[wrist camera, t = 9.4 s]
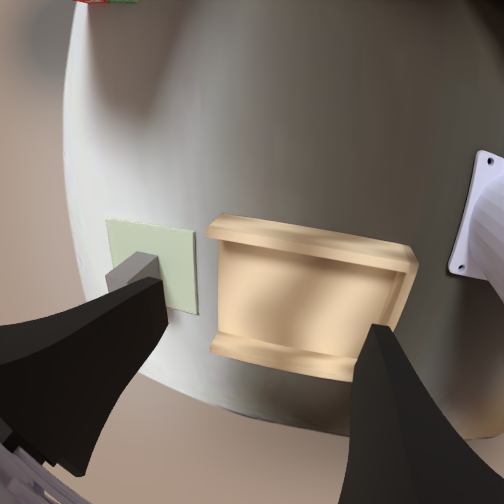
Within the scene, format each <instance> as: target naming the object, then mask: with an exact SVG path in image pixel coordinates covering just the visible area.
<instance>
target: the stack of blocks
mask: <svg viewBox="0 0 504 504" xmlns="http://www.w3.org/2000/svg"><path fill="white" fill-rule="evenodd" d="M74 1H79V2H83V3H109V2H135V3H137V2H138V1H139V0H74Z"/></svg>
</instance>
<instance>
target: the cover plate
mask: <svg viewBox="0 0 504 504" xmlns="http://www.w3.org/2000/svg"><path fill="white" fill-rule="evenodd" d="M106 226H107V233H108V240H109V246H110V252H111V258H112V264H113V270H111V271H110V272H109V273H108V274H106V275H105V278H106V283H107V287H108V291H109V293H110V292H112V291H115V290H117V289H119V288H121V287H124V286H126V285H128V284H130V283H133V282H135V281H138V280H140V279H143V278H146V277H153V278H157V279H161V280H163V287H164V294H165V302H166V306H167V307H170V308H174V309H177V310H181V311H185V312H188V313H192V314H197V313H198V301H197V282H196V258H195V231H191V230H185V229H178V228H172V227H166V226H160V225H154V224H147V223H141V222H135V221H128V220H122V219H115V218H109V217H108V218H106Z"/></svg>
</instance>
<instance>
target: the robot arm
mask: <svg viewBox="0 0 504 504" xmlns="http://www.w3.org/2000/svg"><path fill="white" fill-rule="evenodd" d="M488 158H490V159H491V163H490V164H489V165H488V162H487V160H488ZM460 265H463V266H462V268H461V269H458V268H459V266H460ZM448 269H449V271H450V272H451V273H453V274H458V275H463V276H468V277H473V278H478V279H483V280H488V281H489V282H490V284H491V285H492V286H493V288H494V289H495V291H496V292H497V294H498V295H499V297H500V298H501V299H502V301H503V302H504V159H503V158H501V157H499V156H496V155H494V154H491V153H489V152H486V151H483V150H480V151H478V152H477V154H476V158H475V164H474V169H473V174H472V179H471V184H470V189H469V193H468V198H467V202H466V206H465V210H464V213H463V217H462V221H461V224H460V228H459V231H458V235H457V238H456V241H455V244H454V247H453V250H452V253H451V256H450V259H449V262H448ZM168 324H169V323H168V316H167V309H166V302H165V294H164V287H163V280H161V279H157V278H153V277H146V278H143V279H140V280H138V281H135V282H133V283H130V284H128V285H126V286H124V287H121V288H119V289H117V290H115V291H112V292H110V293H108V294H106V295H103V296H101V297H99V298H97V299H94V300H92V301H89V302H87V303H84V304H82V305H79V306H77V307H74V308H72V309H69V310H66V311H64V312H60V313H57V314H54V315H51V316H48V317H44V318H40V319H36V320H31V321H27V322H22V323H17V324H10V325H2V326H0V504H58V503H57V502H55V501H54V500H52V499H51V498H49V497H47V496H46V495H45V494H44V490H45V491H46V492H48V493H49V494H50V495H51V496H52V497H54V498H55V499H56V500H57V501H58V502H60V503H61V504H92V503H90V502H89V501H88V500H86V499H85V498H83V497H82V496H80V495H79V494H77V493H76V492H74V491H73V490H72V489H70V488H69V487H68V486H66V485H65V484H64V483H62V482H61V481H60V480H59V479H57V478H56V477H55V476H53V475H52V474H51V473H50V472H49V471H48V470H46V469H45V468H44V467H43V466H42V465H43V463H44V462H45V461H46V462H48V463H49V464H50V465H51V466H52V467H54V466H55V465H56V464H57V463H58V464H59V465H60V466H62V467H63V468H64V469H66V470H67V471H69V472H70V473H71V474H72V475H74V476H75V477H82V476H85V473H86V469H87V466H88V463H89V461H90V458H91V455H92V452H93V449H94V447H95V445H96V442H97V440H98V437H99V435H100V433H101V431H102V429H103V427H104V425H105V423H106V421H107V419H108V417H109V415H110V413H111V410H112V409H113V407H114V406H115V404H116V402H117V400H118V398H119V396H120V395H121V393H122V392H123V390H124V389H125V388H126V386H127V385H128V383H129V382H130V381H131V379H132V378H133V377H134V375H135V374H136V373H137V371H138V370H139V369H140V367H141V366H142V365H143V363H144V362H145V361H146V359H147V358H148V357H149V355H150V354H151V353H152V351H153V350H154V349H155V347H156V346H157V344H158V342H159V341H160V339H161V337H162V335H163V333H164V332H165V330H166V328H167V326H168ZM338 504H504V478H502V477H501V476H500V475H499V474H497V473H496V472H495V471H494V470H493V469H492V468H490V467H489V466H488V465H487V464H486V463H485V462H484V461H483V460H482V459H481V458H480V457H479V456H478V455H477V454H476V453H475V452H474V451H473V450H472V449H471V448H470V447H469V445H468V444H467V443H466V442H465V441H464V440H463V439H462V437H461V436H460V435H459V434H458V433H457V432H456V430H455V429H454V428H453V427H452V425H451V424H450V423H449V421H448V420H447V419H446V417H445V416H444V415H443V413H442V412H441V411H440V409H439V408H438V406H437V405H436V404H435V402H434V401H433V399H432V398H431V396H430V394H429V393H428V391H427V390H426V388H425V387H424V385H423V384H422V382H421V380H420V379H419V377H418V375H417V374H416V372H415V370H414V369H413V367H412V365H411V363H410V362H409V360H408V358H407V356H406V355H405V353H404V351H403V349H402V347H401V346H400V344H399V342H398V340H397V339H396V337H395V335H394V333H393V332H392V330H391V328H390V327H389V326H385V325H379V324H373V323H372V324H371V327H370V329H369V332H368V334H367V337H366V339H365V342H364V344H363V347H362V349H361V352H360V354H359V356H358V359H357V361H356V363H355V365H354V372H353V380H352V388H351V415H350V443H349V455H348V462H347V468H346V473H345V478H344V482H343V486H342V491H341V494H340V498H339V502H338Z"/></svg>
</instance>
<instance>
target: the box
mask: <svg viewBox="0 0 504 504" xmlns="http://www.w3.org/2000/svg"><path fill="white" fill-rule="evenodd" d="M207 237H209V238H214V239H219V242H218V328H219V331H218V333H217V335H216V336H215V338H214V340H213V342H212V343H211V345H210V352H211V353H214V354H218V355H222V356H225V357H229V358H233V359H237V360H241V361H245V362H249V363H253V364H257V365H262V366H266V367H271V368H275V369H280V370H285V371H290V372H295V373H300V374H305V375H310V376H316V377H322V378H328V379H334V380H341V381H348V382H352V380H353V372H354V365H355V363H356V361H357V359H358V356H359V354H360V352H361V349H362V347H363V344H364V342H365V339H366V337H367V334H368V332H369V329H370V327H371V324H372V323H373V324H379V325H385V326H389V327H390V328H391V330H392V332H393V331H394V329H395V327H396V325H397V322H398V320H399V317H400V315H401V313H402V310H403V308H404V305H405V303H406V300H407V298H408V295H409V292H410V290H411V287H412V284H413V282H414V279H415V276H416V273H417V270H418V267H419V263H418V261H417V259H416V257H415V255H414V253H413V251H412V250H411V248H410V246H407V245H402V244H397V243H392V242H387V241H381V240H376V239H371V238H366V237H360V236H355V235H350V234H344V233H339V232H333V231H327V230H322V229H316V228H310V227H304V226H298V225H292V224H286V223H280V222H274V221H268V220H261V219H255V218H248V217H241V216H235V215H228V214H221V215H220V216H219V217H218V218H217V219H216V220H215V221H213V222H212V223H211V224H210V225H209V226H208V227H207Z"/></svg>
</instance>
